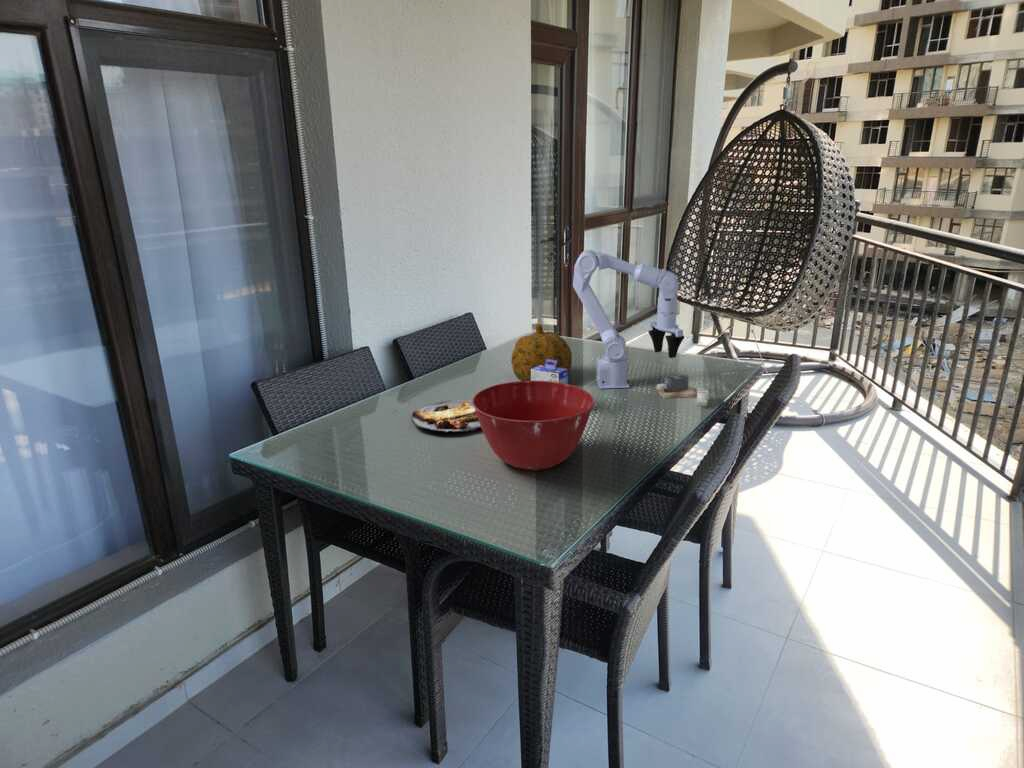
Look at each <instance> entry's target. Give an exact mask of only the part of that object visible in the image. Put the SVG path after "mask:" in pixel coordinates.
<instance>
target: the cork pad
mask: <svg viewBox="0 0 1024 768" xmlns="http://www.w3.org/2000/svg"><path fill="white" fill-rule="evenodd" d="M655 389H656V391H657V390H658V391H659V392H658V391H657V392H658V393H659V394H660V396H661V395H662V396H663V397H662V396H661V397H662V398H663V399H678V398H677V397H690V398H697V392H695V390H694V389H693V388H691V387H690V386H689V385H688V389H687V390H682V391H677V392H665V391H664V389H659V388H657V384H656V385H655Z"/></svg>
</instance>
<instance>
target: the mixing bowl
mask: <svg viewBox="0 0 1024 768" xmlns="http://www.w3.org/2000/svg"><path fill="white" fill-rule="evenodd" d="M471 401H472V404H473V406H474V408H475V411H476V414H477V417H478V420H479V421H478V422H479V424H480V425H481V431H482V433H483V435H484V437H485V439H486V441H487V443H488V444H489V446H490V448H491V450H492V451H493V453H494V454H495V455H496V457H498V458H499V459H500V460H501V461H503V462H504V463H506V464H508V465H510V466H511V467H514V468H516V469H520V470H525V471H542V470H548V469H551V468H554V467H555V466H557V465H558V464H559V465H560V463H562V462H565V461H566V460H567V459H568V458H569V457H570V456H571V455H572V454H573V452H574V450H575V449H576V447H577V446H578V444H579V443H580V440H581V438H582V436H583V435H584V431H585V429H586V427H587V423H588V421H589V417H590V415H591V410H592V408H593V406H594V404H595V398H594V396H593V395H592V394H591V393H590V392H589V391H587V390H585V389H583V388H581V387H579V386H575V385H572V384H569V383H568V384H565V383H559V382H551V381H521V380H519V381H518V380H517V381H511V382H510V381H509V382H504V383H503V382H502V383H499V384H494V385H491V386H488V387H486V388H483V389H482V390H479V392H477V393H476V394H475V395H474V396H473V398H472V400H471Z"/></svg>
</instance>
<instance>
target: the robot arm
mask: <svg viewBox="0 0 1024 768" xmlns="http://www.w3.org/2000/svg"><path fill="white" fill-rule="evenodd" d="M597 267H598V271H601V270H607V269H611V270H614V271H617V272H621V273H624V274H627V275H630V276H633V279H634V281H635V282H638V283H640V284H643V285H646V286H649V287H651V288H654V289H655V288H656V289H657V288H658V297H657V312H656V313H657V314H656V316H657V317H656V321H655V320H654V321H650V322H649V323H650V324H649V325H650V329H649V330H648V335H649V336H650V338H651V340H652V346H653V349H654V353H661V352H663V346H664V345H663V344H664V339H666V343H667V350H668V351H667V353H668V358H669V359H673V358H674V359H675V358H676V356H677V354H678V351H679V348H680V346H681V344H682V342H683V340H684V339H685V335H684V329H681V328H680V327H679V324H677V309H678V308H677V306H678V297H677V295H678V291H677V290H678V289H679V285H680V284H679V279H678V277H677V276H676V275H675V273H673V272H671V271H670V270H666V269H664V268H661V269H660V268H657V267H654V266H652V265H651V263H649V262H646V263H643V262H642V263H640V264H638V265H637V264H634V263H632V262H631V263H630V262H628V261H626V260H624V259H620V258H618V257H615V256H613V255H610V254H608V253H603V252H601V251H596V252H595V250H592V249H586V250H583V251H582V252H580V254H579V256H578V258H577V259H576V262H575V264H574V267H573V268H574V269H573V282H572V286H573V289H574V290H575V293H576V295H577V296H578V298H579V299H580V302H581V304H582V305H583V307H584V309H585V310H586V312H587V314H588V316H589V317H590V320H591V321H592V323H593V324H594V327H595V328H596V331H597V332H598V334H599V335H600V339H601V341H602V343H603V345H604V348H605V350H604V351H605V355H604V356H603V358H598V359H597V360H596V381H595V382H596V384H597V386H598V387H599V389H600V390H601V389H602V390H603V389H604V390H605V389H628V388H630V384H629V383H628V382H627V374H628V373H627V372H628V371H627V369H628V368H627V366H628V357H627V355H626V352H627V349H626V345H627V343H626V340H625V338H624V337H623V336H621V335H620V334H619V333H618V331H617V330H616V329H615V328H614V326H613V324H612V322H611V320H610V319H609V317H608V315H607V313H606V312H605V310H604V307H603V306H602V304H601V302H600V301H599V299H598V297H597V296H596V293H595V292H594V290H593V288H592V287H591V284H590V282H591V278H592V275H593V274H594V273H595V271H596V270H597ZM666 333H668V335H666ZM669 334H670V335H669Z"/></svg>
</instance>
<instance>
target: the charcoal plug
mask: <svg viewBox="0 0 1024 768" xmlns="http://www.w3.org/2000/svg"><path fill="white" fill-rule="evenodd" d="M689 378H690V376H689V375H687V374H678V375H676V374H675V375H670V376H665V377H663V383H657V384H656V385H657V388H659V389H664V391H665V392H677V391H682V390H687V389H688V386H689Z"/></svg>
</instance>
